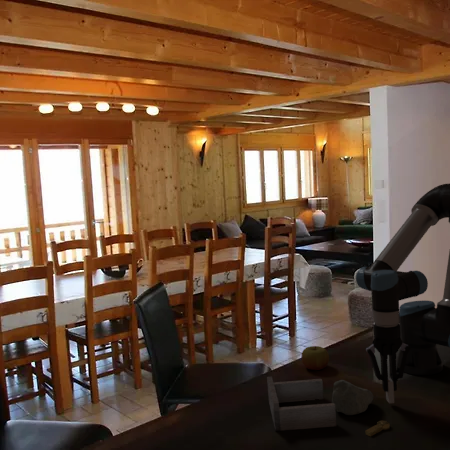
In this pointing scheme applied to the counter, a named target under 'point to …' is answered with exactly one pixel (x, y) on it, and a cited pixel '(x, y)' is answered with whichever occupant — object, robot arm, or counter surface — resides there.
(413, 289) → the robot arm
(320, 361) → the apple
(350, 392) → the decorative stone
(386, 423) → the wooden spoon
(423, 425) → the counter surface
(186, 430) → the counter surface
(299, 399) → the gray open-sided box
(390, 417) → the counter surface
